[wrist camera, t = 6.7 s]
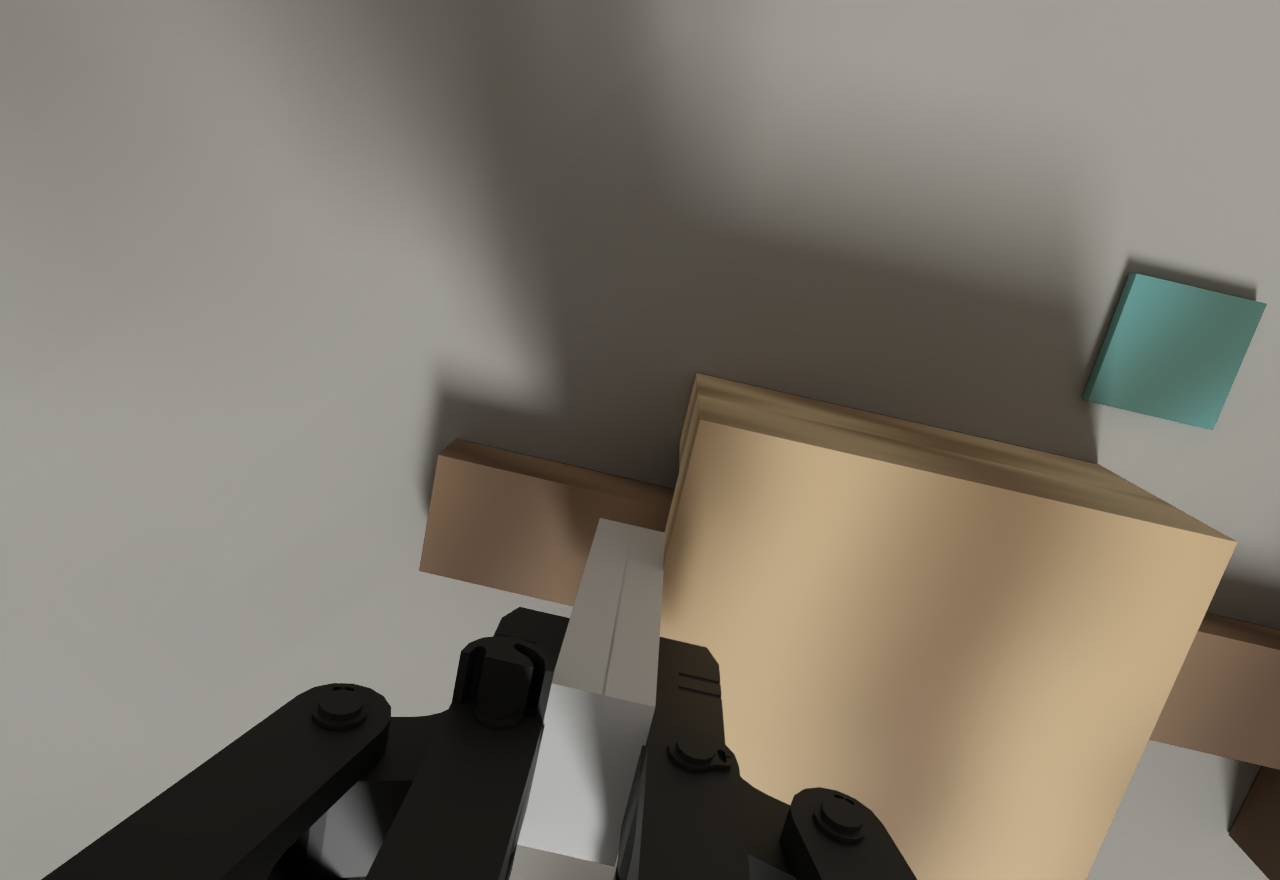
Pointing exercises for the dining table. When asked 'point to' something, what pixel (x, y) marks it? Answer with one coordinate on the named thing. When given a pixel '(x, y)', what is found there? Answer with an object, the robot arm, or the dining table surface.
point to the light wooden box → (930, 622)
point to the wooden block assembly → (1122, 377)
